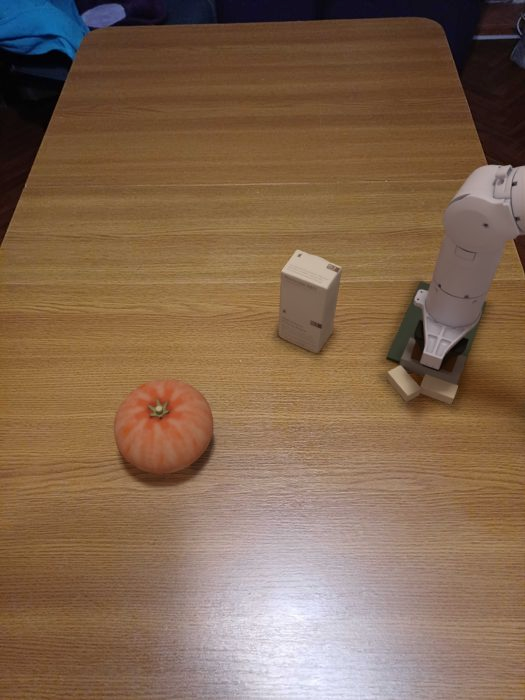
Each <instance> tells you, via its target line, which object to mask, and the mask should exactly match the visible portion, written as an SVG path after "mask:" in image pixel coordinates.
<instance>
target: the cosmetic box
mask: <svg viewBox="0 0 525 700" xmlns="http://www.w3.org/2000/svg"><path fill="white" fill-rule="evenodd" d="M342 272H343V266H341V265H338V264H336V263H333V262H331V261H328V260H326V259H325V258H323V257H321V256H318V255H315V254H310V253H308V252H306V251H303V250H300V249H298V248H297V249H296V250H295V252H294V253H293V254H292V255H291V257H290V258H289V260H288V261H286V264H285V265H284V266H283V268H282V269H281V271H280V284H279V285H280V286H279V310H278V311H279V312H278V313H279V314H278V332H277V334H278V335H277V336H278V337H280V338H281V339H283V340H285V341H287V342H289V343H291V344H293V345H295V346H297V347H299V348H302V349H304V350H307V351H309V352H312V353H314V354H319V353H320V352H321V350H322V349H323V347H324V345H325V344H326V342H327V341H328V339H329V338H330V336H331V335H332V334H333V330H334V324H335V316H336V312H337V311H336V310H337V304H338V297H339V291H340V285H341V278H342Z"/></svg>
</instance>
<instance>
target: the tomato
mask: <svg viewBox="0 0 525 700" xmlns="http://www.w3.org/2000/svg"><path fill="white" fill-rule="evenodd" d="M213 433H214V415H213V413H212V409H211V406H210V404H209V402H208V400H207V398H206V397H205V395H204V394H203V393H202V392H200V391H199V390H198V389H197V388H195V386H193V385H191V384H189V383H187V382H184V381H181V380H178V379H174V378H165V379H164V378H162V379H155V380H151V381H147V382H144V383H142V384H141V385H139V386H137V387H135V389H133V390H132V391H131V392H129V393H128V394H127V395H126V397H125V398H124V399H123V400H122V402H121V403H120V405H119V407H118V408H117V411H116V413H115V416H114V421H113V434H114V440H115V443H116V444H115V445H116V447H117V449H118V451H119V453H120V454H121V456H122V457H123V458H124V459H125V460H127V462H128V463H130V464H131V465H132V466H134V467H135V468H137V469H138V470H141V471H143V472H145V473H151V474H171V473H177V472H180V471H182V470H184V469H186V468H188V467H190V466H191V465H193V463H195V462H196V461H197V460H198V459H199V458H201V456H202V455H203V454H204V453H205V451H206V450H207V448H208V447H209V445H210V442H211V440H212V437H213Z"/></svg>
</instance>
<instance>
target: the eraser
mask: <svg viewBox="0 0 525 700" xmlns="http://www.w3.org/2000/svg"><path fill="white" fill-rule="evenodd" d="M466 358H467V359H468V356H467V357H465V356H462V355H458V356H455V357H453V358H451V359H450V360H449V361H448V362H447V363H446V364H445V366H444V367H443V368H442V369H441V370H440V371H435V370H432V369H429V368H427V367H424V366H423V365H422V364H421V363H420V361H421V349H420V346H419V344H418V343H417V342H416V341H415V339H413V338H410V339H409V341H408V344H407V346H406V348H405V350H404V353H403V355H402V357H401V361H400V364H398V366H400V365H401V366H402V367H403V368H404V369H405V371H406V372H409V373H412V374H415V375H417V376H419V377H420V376H421V377H423V378H424V376H425V374H427V375H430V376H433V377H436V378H438V379H441V380H444V381H447V382H450V383H452V384H455V385H458V384H457V382H458V380H459V381H460V379H459V377H460V378H461V376H462V373H463V370H464V368H463V366H464V367H465V365H466V362H465V361H467V359H466ZM464 364H465V365H464ZM462 369H463V370H462ZM461 372H462V373H461ZM460 375H461V376H460ZM458 383H459V382H458Z"/></svg>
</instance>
